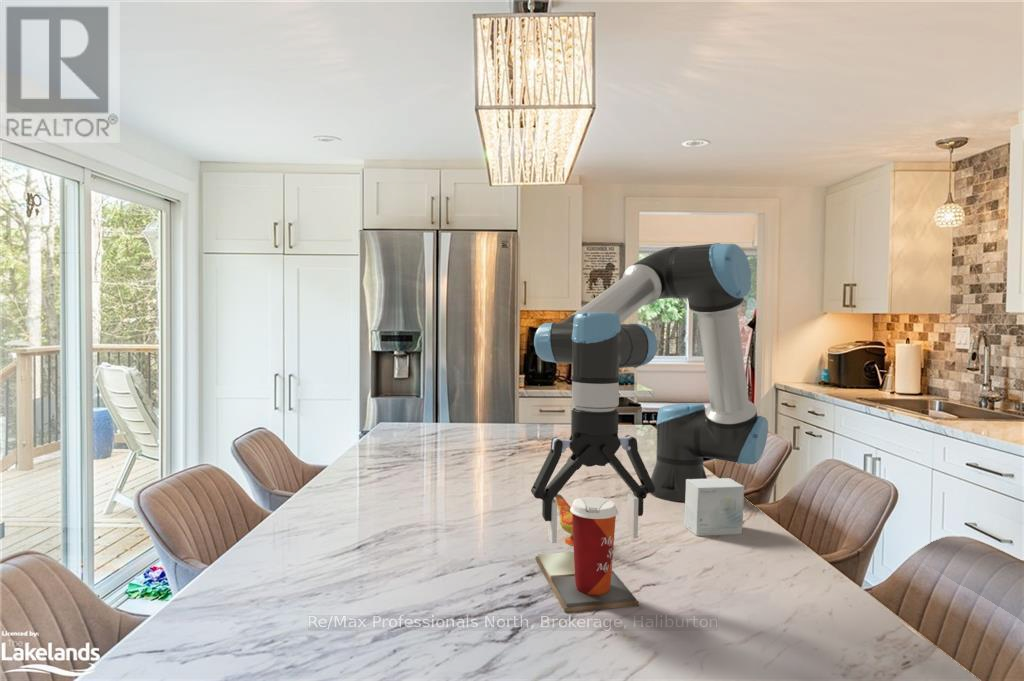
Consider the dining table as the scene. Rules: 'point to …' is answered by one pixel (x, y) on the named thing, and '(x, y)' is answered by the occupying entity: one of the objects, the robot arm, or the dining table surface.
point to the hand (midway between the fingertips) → (592, 537)
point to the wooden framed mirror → (563, 585)
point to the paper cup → (593, 543)
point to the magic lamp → (565, 517)
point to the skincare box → (714, 506)
